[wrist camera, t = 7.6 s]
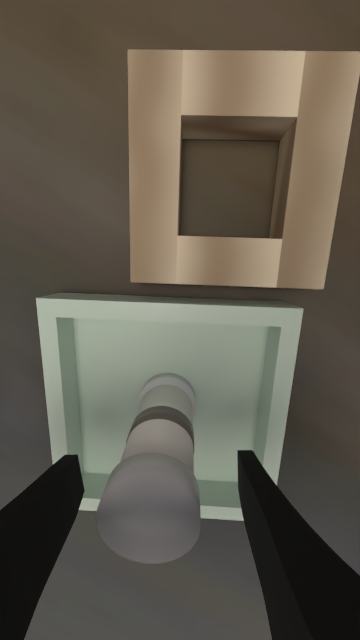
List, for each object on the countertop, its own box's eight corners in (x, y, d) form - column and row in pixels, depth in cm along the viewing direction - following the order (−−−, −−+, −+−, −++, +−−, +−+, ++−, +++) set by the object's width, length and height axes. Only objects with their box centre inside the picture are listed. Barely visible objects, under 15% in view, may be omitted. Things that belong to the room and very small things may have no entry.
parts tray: (285, 301, 15) (303, 308, 13) (260, 487, 18) (271, 522, 16) (60, 292, 15) (35, 298, 13) (74, 476, 19) (57, 508, 16)
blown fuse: (194, 371, 16) (198, 479, 8) (196, 421, 16) (202, 563, 9) (138, 373, 16) (88, 481, 8) (143, 422, 17) (102, 564, 9)
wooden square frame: (333, 88, 12) (363, 51, 10) (304, 285, 15) (323, 289, 13) (138, 85, 13) (127, 49, 11) (139, 279, 15) (130, 282, 13)
